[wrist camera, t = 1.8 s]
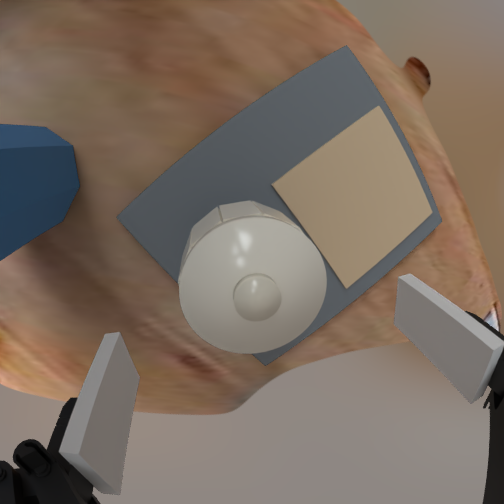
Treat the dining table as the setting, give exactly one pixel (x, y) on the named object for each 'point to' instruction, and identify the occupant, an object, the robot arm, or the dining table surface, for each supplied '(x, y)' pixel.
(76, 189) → the water bottle
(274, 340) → the cap
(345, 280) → the board
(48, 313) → the dining table surface
